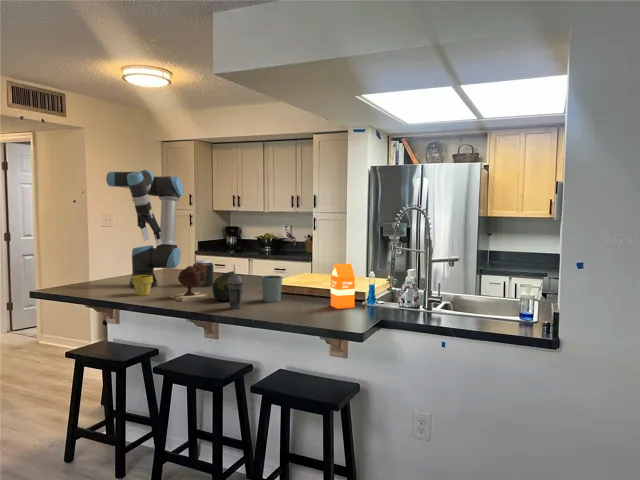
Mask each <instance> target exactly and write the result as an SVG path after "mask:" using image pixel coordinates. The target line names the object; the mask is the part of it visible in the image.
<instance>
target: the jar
mask: <svg viewBox="0 0 640 480" xmlns="http://www.w3.org/2000/svg"><path fill="white" fill-rule="evenodd" d="M192 266H193V267H194V268H195V269H196V272H197V273H198V274H199V276H200V280H199V282H198V283H197V284H196V285H195V286H194V287H195V288H196V287H197V288H207V287H213V284H214V281H215V278H214V275H215V274H214V264H213V263H212V262H211V259H208V258H207V259H206V258H205V259H204V258H202V259H196V260H195V263H193V264H192Z"/></svg>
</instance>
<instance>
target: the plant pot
mask: <svg viewBox="0 0 640 480" xmlns="http://www.w3.org/2000/svg"><path fill="white" fill-rule="evenodd" d="M152 282H153V276H152V275H139V276H133V277H132V283H133V284H134V291H135V294H136V296H137V295H138V296H142V297H143V296H149V295H150V294H151V289H152V287H151V283H152ZM138 296H137V297H138Z"/></svg>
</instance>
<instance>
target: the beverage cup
mask: <svg viewBox="0 0 640 480" xmlns="http://www.w3.org/2000/svg"><path fill="white" fill-rule="evenodd" d="M235 267H236V265H235V264H233V272H234V275H231V276H230V277H229V278H228V281H227V286H228V291H229V301H228V302H229V309H230V308H231V310H239V309H238V308H240V309H241V305H242V295H243V284H244V280H243V278H242V277H241V276H240V275H239V274H236V268H235ZM241 294H242V295H241Z"/></svg>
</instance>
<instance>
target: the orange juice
mask: <svg viewBox="0 0 640 480" xmlns="http://www.w3.org/2000/svg"><path fill="white" fill-rule="evenodd" d="M355 280H356V277H355V273H354V269H353V266H352V263H351V262H350V263H335V264H333V268H332V272H331V274H330V306H331V307H332V308H333V307H334V308H335V309H339V310H340V309H348V308H349V309H350V308H355V294H356V290H355V285H356V284H355V282H356V281H355Z"/></svg>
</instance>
